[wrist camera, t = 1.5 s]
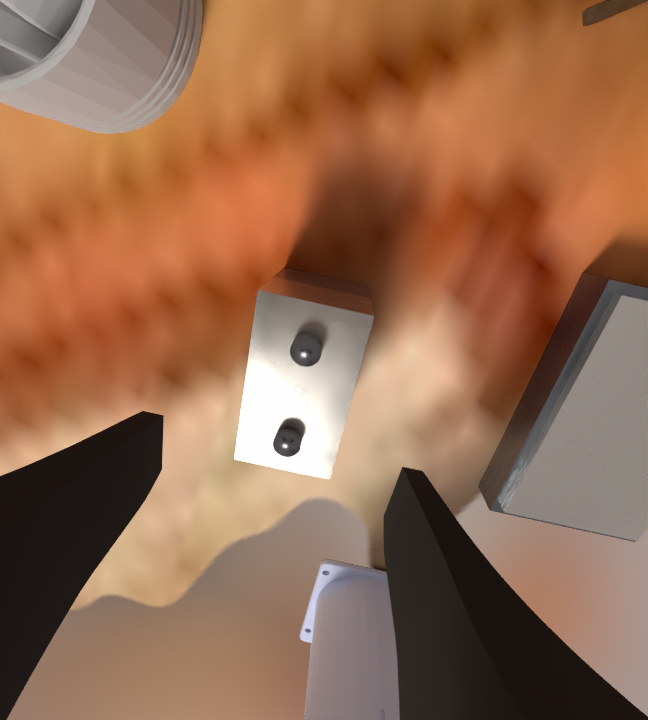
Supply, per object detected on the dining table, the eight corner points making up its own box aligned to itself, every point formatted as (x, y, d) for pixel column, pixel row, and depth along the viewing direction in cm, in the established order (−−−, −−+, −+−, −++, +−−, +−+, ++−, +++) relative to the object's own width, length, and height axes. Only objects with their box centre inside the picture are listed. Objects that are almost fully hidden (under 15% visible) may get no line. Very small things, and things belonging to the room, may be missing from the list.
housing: (334, 412, 22) (328, 488, 16) (263, 397, 22) (230, 467, 16) (367, 285, 19) (375, 320, 13) (284, 266, 19) (253, 293, 13)
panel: (612, 515, 24) (640, 548, 21) (478, 486, 23) (492, 516, 21) (755, 312, 18) (814, 326, 16) (582, 272, 18) (617, 281, 16)
